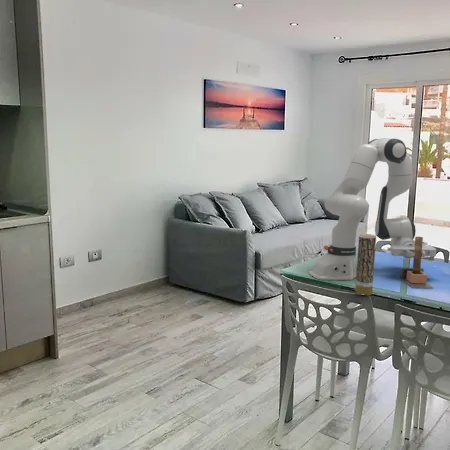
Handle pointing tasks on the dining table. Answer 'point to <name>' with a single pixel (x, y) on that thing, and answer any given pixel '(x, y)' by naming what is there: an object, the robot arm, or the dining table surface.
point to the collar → (416, 277)
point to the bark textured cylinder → (365, 264)
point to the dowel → (417, 255)
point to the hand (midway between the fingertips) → (418, 254)
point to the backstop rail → (414, 285)
